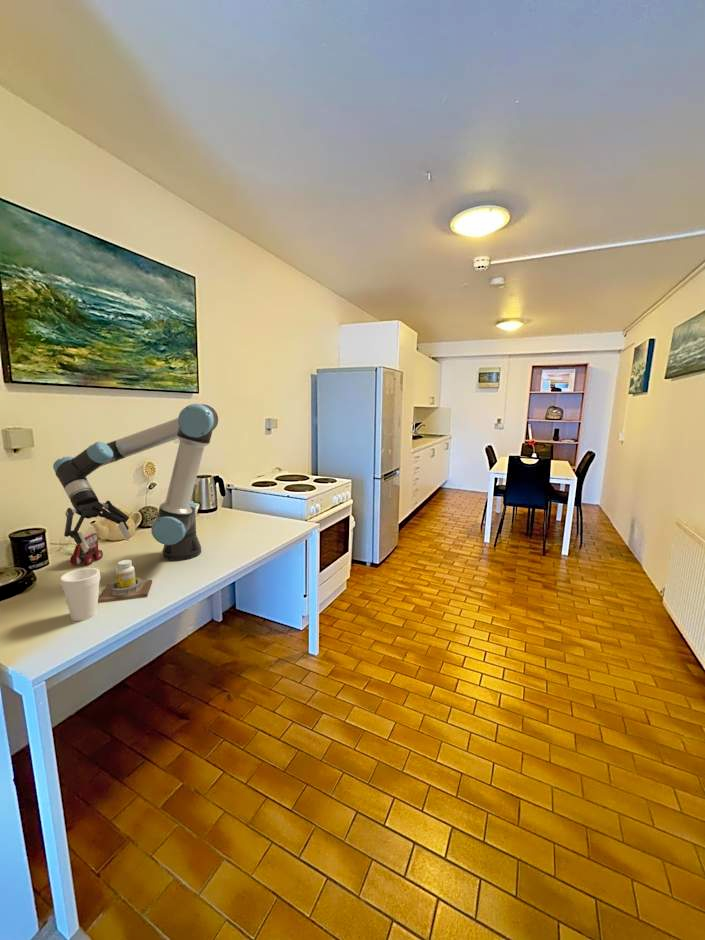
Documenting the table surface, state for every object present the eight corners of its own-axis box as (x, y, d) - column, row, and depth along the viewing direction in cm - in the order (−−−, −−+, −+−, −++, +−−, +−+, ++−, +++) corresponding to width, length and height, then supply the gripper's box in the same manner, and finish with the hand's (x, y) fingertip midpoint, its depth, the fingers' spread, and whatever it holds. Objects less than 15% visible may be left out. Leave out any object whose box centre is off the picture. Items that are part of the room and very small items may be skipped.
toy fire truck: (66, 568, 147) (63, 542, 145) (90, 555, 159) (88, 531, 158) (83, 569, 147) (80, 543, 145) (106, 556, 159) (104, 532, 157)
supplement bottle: (136, 589, 129) (134, 562, 128) (118, 594, 126) (115, 566, 125) (135, 583, 134) (132, 557, 132) (117, 587, 131) (114, 560, 129)
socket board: (152, 582, 137) (151, 574, 137) (147, 596, 127) (146, 588, 127) (107, 587, 133) (106, 579, 132) (98, 602, 122) (97, 593, 122)
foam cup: (109, 607, 120) (106, 568, 118) (90, 623, 111) (86, 581, 109) (78, 607, 119) (74, 567, 117) (56, 623, 110) (52, 581, 108)
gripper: (114, 495, 149) (140, 539, 144) (36, 509, 127) (64, 562, 122) (121, 483, 145) (147, 528, 140) (42, 495, 124) (70, 549, 119)
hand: (108, 544), depth 131 cm, fingers open, 13 cm apart
